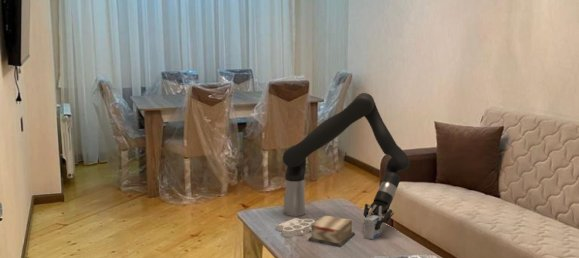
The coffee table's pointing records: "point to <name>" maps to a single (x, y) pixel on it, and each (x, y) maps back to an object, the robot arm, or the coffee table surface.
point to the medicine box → (371, 227)
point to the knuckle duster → (295, 227)
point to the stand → (332, 231)
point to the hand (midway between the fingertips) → (370, 228)
